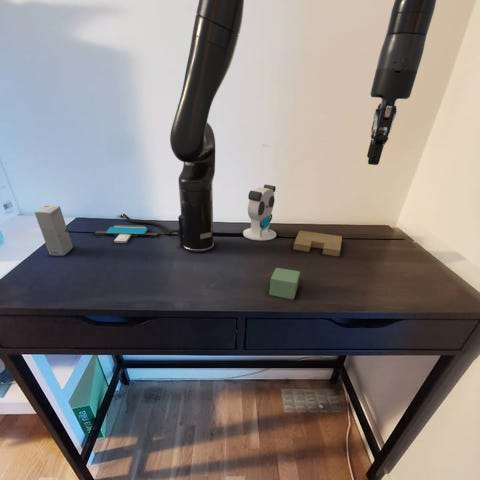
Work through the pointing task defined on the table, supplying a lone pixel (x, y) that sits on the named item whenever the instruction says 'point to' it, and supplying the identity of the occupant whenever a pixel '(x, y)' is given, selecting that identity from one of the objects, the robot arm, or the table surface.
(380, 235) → the table surface
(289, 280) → the green rectangular block
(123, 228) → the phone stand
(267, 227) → the panda figurine
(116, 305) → the table surface
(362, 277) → the table surface
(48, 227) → the cosmetic box
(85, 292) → the table surface
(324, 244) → the base pad
